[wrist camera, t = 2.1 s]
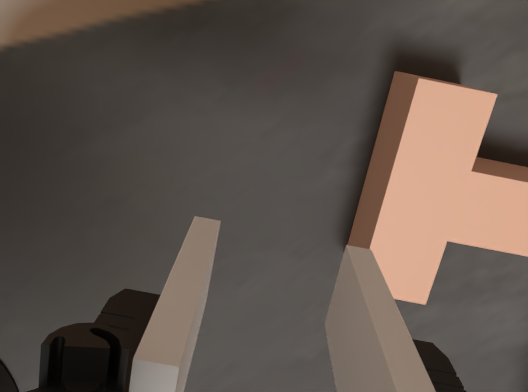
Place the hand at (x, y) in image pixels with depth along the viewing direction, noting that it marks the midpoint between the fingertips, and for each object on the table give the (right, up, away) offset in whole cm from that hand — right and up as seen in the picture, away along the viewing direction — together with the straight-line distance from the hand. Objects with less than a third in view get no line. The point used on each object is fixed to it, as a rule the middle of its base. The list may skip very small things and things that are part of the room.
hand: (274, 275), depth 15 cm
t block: (+12, +3, +16) cm, 20 cm away
